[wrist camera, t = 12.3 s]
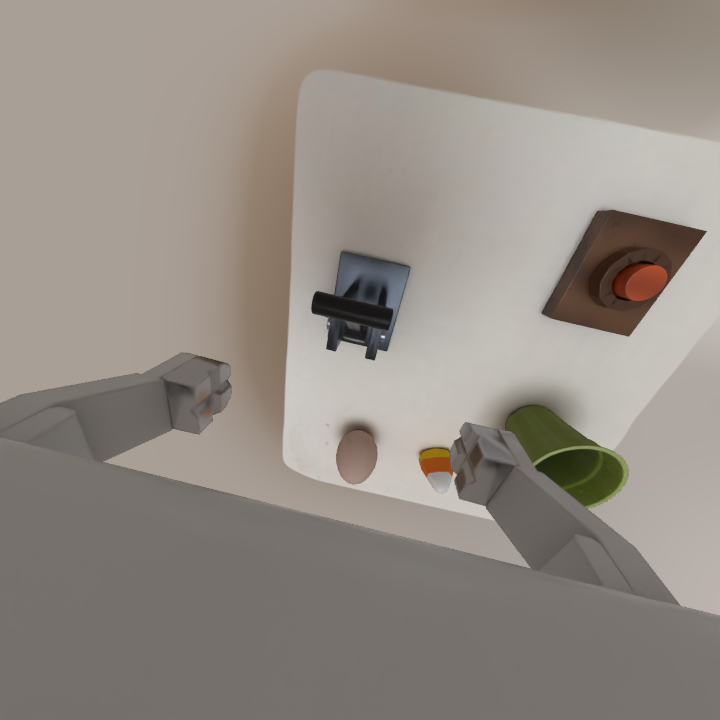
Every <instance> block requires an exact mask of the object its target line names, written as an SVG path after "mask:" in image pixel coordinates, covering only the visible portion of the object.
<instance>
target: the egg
mask: <svg viewBox="0 0 720 720" xmlns="http://www.w3.org/2000/svg"><path fill="white" fill-rule="evenodd" d="M376 461H377V447H376V444H375V441H374V439H373V438H372V437H371V436H370V435H369V434H368V433H367V432H364V431H361V430H355V431H352V432H349V433H348V434H346V435H345V436H344V437H343V438H342V440H341V441H340V443H339V446H338V449H337V454H336V463H337V467H338V470H339V473H340V475H341V477H342V478H343V479H344V480H345V481H346V482H348V483H351V484H360V483H362V482H364V481H365V480H366V479H367V478H368V477H369V476H370V475H371V473H372V471H373V470H374V468H375V465H376Z"/></svg>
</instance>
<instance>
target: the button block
mask: <svg viewBox="0 0 720 720" xmlns="http://www.w3.org/2000/svg"><path fill="white" fill-rule="evenodd" d="M706 232H707V231H703V230H699V229H695V228H690V227H686V226H681V225H677V224H673V223H668V222H664V221H659V220H655V219H651V218H646V217H642V216H638V215H633V214H629V213H624V212H620V211H616V210H606V211H598V212H597V213H596V215H595V217H594V219H593V221H592V222H591V224H590V226H589V228H588V230H587V232H586V233H585V235H584V237H583V239H582V241H581V243H580V244H579V246H578V248H577V250H576V252H575V254H574V255H573V257H572V259H571V261H570V263H569V265H568V266H567V268H566V270H565V272H564V274H563V275H562V277H561V279H560V281H559V283H558V285H557V286H556V288H555V290H554V292H553V294H552V296H551V297H550V299H549V301H548V303H547V305H546V307H545V308H544V310H543V312H542V314H544V315H545V316H547V317H549V318H552V319H556V320H560V321H564V322H569V323H573V324H577V325H582V326H586V327H590V328H594V329H599V330H603V331H607V332H612V333H616V334H620V335H624V336H630V335H631V333H632V332H633V331H634V329H635V328H636V327H637V325H638V324H639V322H640V321H641V320H642V318H643V317H644V316H645V314H646V313H647V312H648V310H649V309H650V308H651V306H652V305H653V304H654V302H655V301H656V300H657V298H658V297H659V295H660V294H661V293H662V291H663V290H664V289H665V287H666V286H667V285H668V283H669V282H670V281H671V279H672V278H673V277H674V275H675V274H676V273H677V271H678V270H679V268H680V267H681V266H682V264H683V263H684V262H685V260H686V259H687V258H688V256H689V255H690V254H691V252H692V251H693V250H694V248H695V247H696V246H697V244H698V243H699V241H700V240H701V239H702V237H703V236H704V235H705V233H706ZM634 264H650V265H658V266H661V267H663V268H664V269H665V270H666V272H667V281H666V284H665V286H664V287H663V288H662V290H661V291H660V292H659V293H657V294H656V295H655V296H653V297H651V298H649V299H647V300H642V301H634V300H630V299H626V298H623V297H620V296H618V295H616V293H615V292H614V289H613V284H614V281H615V279H616V277H617V276H618V274H619V273H620V272H621V271H623V270H624V269H625V268H627V267H629V266H631V265H634Z"/></svg>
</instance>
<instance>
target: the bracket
mask: <svg viewBox="0 0 720 720" xmlns="http://www.w3.org/2000/svg"><path fill="white" fill-rule="evenodd" d="M409 271H410V266H406V265H401V264H397V263H393V262H389V261H384V260H380V259H376V258H371V257H367V256H363V255H358V254H354V253H350V252H345V251H342V252H341V256H340V263H339V269H338V275H337V282H336V288H335V294H334V295H336V296H341V297H345V298H349V299H353V300H358V301H362V302H366V303H370V304H375V305H379V306H383V307H387V308H392V309H393V310H394V311H393V317H392V321H391V325H390V328H389V330H388V331H385V330H381V329H376V328H372V327H368V331H367V335H366V339H365V343H361V342H356V341H352V340H348V339H345V338H344V337H343V333H344V329H345V325H346V322H345V321H342V320H338V319H334V318H330V317H329V318H328V322H327V329H329V332H328V341H327V347H326V349H328V350H332V351H336V350H337V348H338V346H339V344H340V342H341V341H345V342H349V343H353V344H358V345H362V346H366V347H367V351H366V356H365V358H366V359H371V360H375V357H376V353H377V349H379V350H383V351H387V350H388V346H389V342H390V339H391V335H392V332H393V328H394V325H395V321H396V317H397V314H398V310H399V307H400V303H401V300H402V296H403V293H404V289H405V285H406V282H407V278H408V275H409Z"/></svg>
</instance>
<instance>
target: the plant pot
mask: <svg viewBox="0 0 720 720" xmlns="http://www.w3.org/2000/svg"><path fill="white" fill-rule="evenodd" d="M505 428H506V431H509V432H512V433H513V434H514V435H515V436H516V438H517V439H518V441H519V442H520V444H521V446H522V447H523V449H524V450H525V452H526V454H527V455H528V457H529V459H530V460H531V462H532V463H533V465H534V467H535V468H536V470H537V471H538V472H542V473H544V474H545V475H546V476H547V477H548V478H550V479H551V480H552V481H553V482H555V483H556V484H557V485H558V486H560V487H561V488H562V489H563V490H565V491H566V492H567V493H568V494H570V495H571V496H572V497H573V498H575V499H576V500H577V501H578V502H580V503H581V504H582V505H583V506H585V507H586V508H587V509H589V508H592V507H595V506H597V505H600V504H602V503H604V502H606V501H608V500H609V499H611V498H612V497H614V496H615V495H616V494H617V493H619V492H620V491H621V489H622V488H623V486H624V485H625V484H626V482H627V479H628V476H629V470H628V466H627V464H626V462H625V460H624V459H623V458H622V457H621V456H620V455H618V454H617V453H615V452H614V451H612V450H609V449H607V448H604V447H601V446H599V445H598V444H597V443H595V442H594V441H592V440H589V439H587V438H586V437H585V436H583V435H582V434H581V433H579V432H578V431H576V430H575V429H574V428H572V427H571V426H570V425H568V424H567V423H566V422H564V421H563V420H562V419H560V418H559V417H558V416H556V415H555V414H554V413H552V412H551V411H550V410H548V409H546V408H544V407H541V406H526V407H523V408H520V409H518V410H517V411H516V412H515V413H514V414H512V415H510V416H509V418H508V419H507V421H506V425H505Z"/></svg>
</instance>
